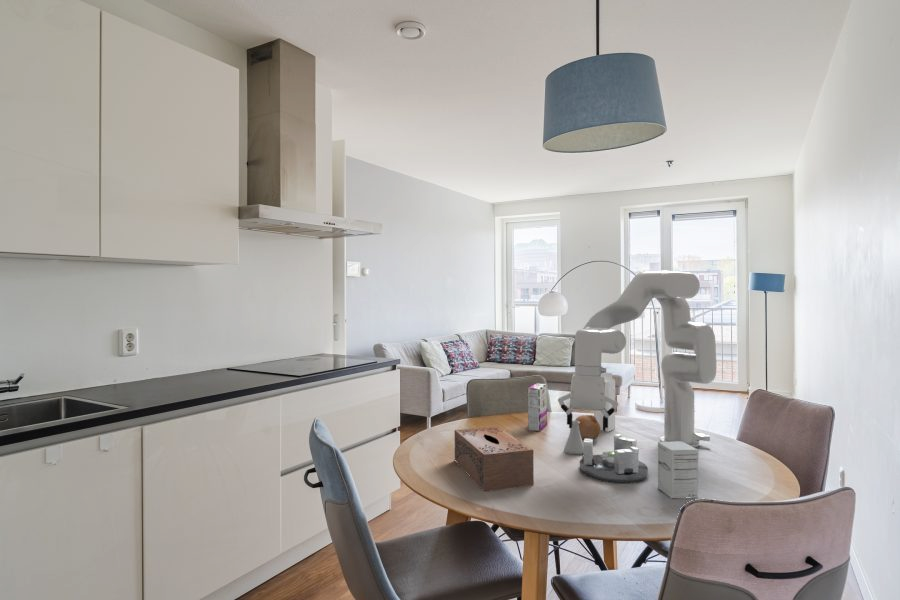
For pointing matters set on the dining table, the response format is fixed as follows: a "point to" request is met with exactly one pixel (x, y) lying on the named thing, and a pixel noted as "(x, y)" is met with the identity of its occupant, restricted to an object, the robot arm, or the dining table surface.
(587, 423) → the onion
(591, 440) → the knob front
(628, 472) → the knob
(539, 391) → the candy bar box
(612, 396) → the milk
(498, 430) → the tissue box cover
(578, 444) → the flask
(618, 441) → the knob
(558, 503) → the dining table surface
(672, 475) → the supplement box
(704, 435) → the robot arm
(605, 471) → the levelling plate
